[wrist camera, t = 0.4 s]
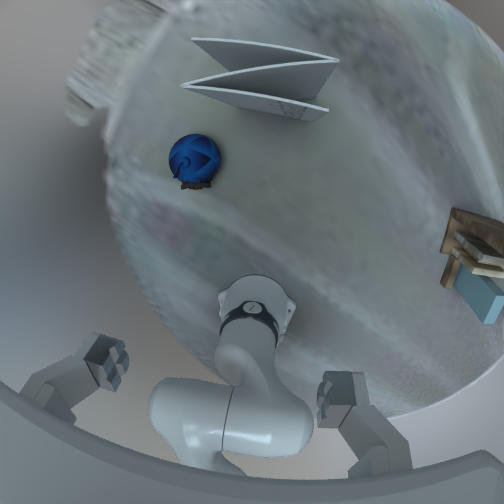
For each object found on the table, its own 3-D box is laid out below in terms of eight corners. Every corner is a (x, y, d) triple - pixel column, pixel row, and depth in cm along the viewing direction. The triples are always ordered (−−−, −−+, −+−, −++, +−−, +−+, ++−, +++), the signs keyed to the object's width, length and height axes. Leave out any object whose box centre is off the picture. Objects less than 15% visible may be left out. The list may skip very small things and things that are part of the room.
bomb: (183, 186, 59) (152, 204, 45) (178, 136, 54) (143, 141, 41) (227, 183, 57) (206, 200, 43) (223, 131, 53) (199, 132, 39)
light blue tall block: (461, 283, 58) (493, 324, 42) (450, 281, 58) (482, 323, 42) (470, 258, 55) (507, 296, 39) (459, 257, 55) (496, 295, 39)
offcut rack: (477, 286, 57) (517, 336, 38) (429, 281, 59) (467, 338, 39) (500, 221, 49) (553, 258, 30) (451, 207, 51) (507, 245, 31)
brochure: (237, 107, 50) (179, 87, 23) (243, 82, 48) (190, 37, 21) (309, 122, 50) (328, 112, 23) (315, 96, 47) (339, 59, 20)
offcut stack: (484, 257, 53) (510, 283, 41) (448, 251, 54) (474, 278, 43) (490, 239, 51) (518, 262, 39) (454, 230, 52) (483, 254, 40)
